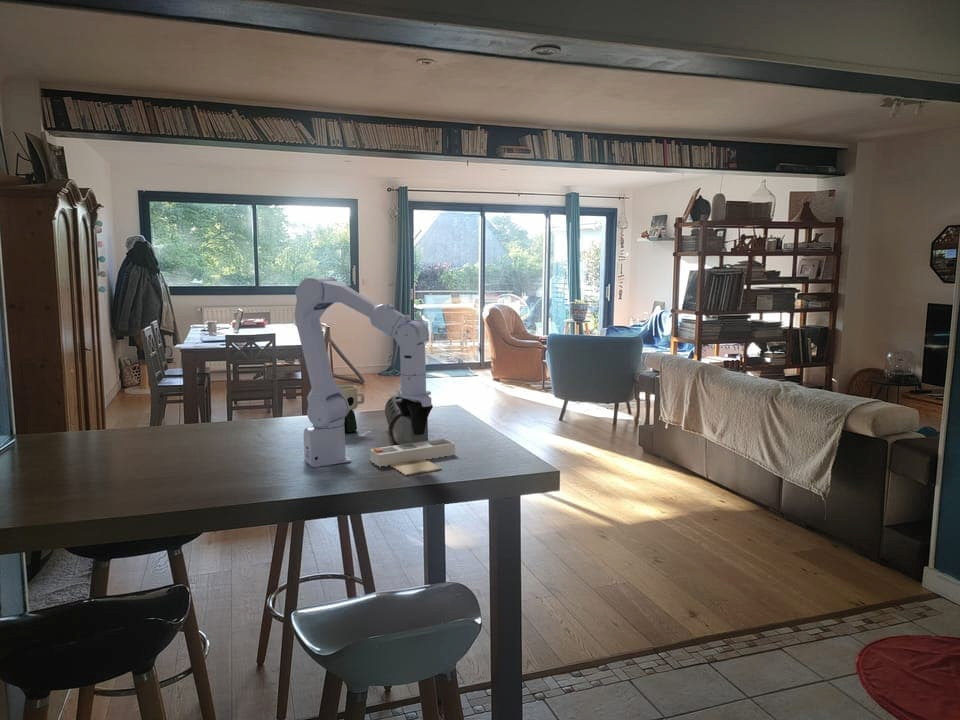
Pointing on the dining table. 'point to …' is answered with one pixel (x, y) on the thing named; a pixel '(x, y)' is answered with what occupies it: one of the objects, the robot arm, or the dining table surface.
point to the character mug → (351, 405)
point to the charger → (409, 431)
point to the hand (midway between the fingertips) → (414, 432)
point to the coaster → (415, 467)
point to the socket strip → (412, 452)
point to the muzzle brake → (395, 421)
